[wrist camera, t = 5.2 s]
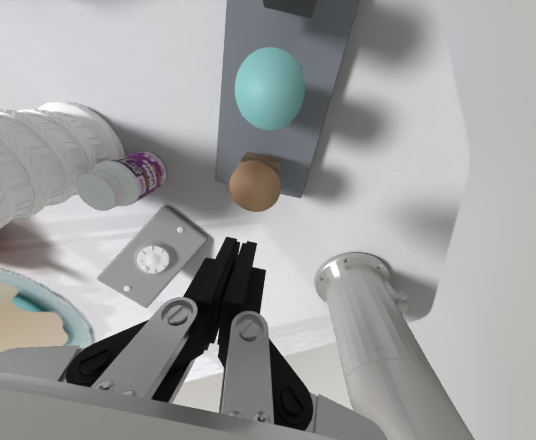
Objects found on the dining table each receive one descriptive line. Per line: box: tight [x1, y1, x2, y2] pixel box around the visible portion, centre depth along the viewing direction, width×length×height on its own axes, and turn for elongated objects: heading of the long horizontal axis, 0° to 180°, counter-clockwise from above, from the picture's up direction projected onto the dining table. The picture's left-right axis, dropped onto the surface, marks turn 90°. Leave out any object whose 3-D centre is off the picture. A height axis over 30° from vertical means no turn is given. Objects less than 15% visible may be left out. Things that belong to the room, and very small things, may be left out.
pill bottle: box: [76, 151, 166, 211], centre depth 25 cm, size 5×5×10 cm
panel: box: [215, 0, 359, 198], centre depth 21 cm, size 12×22×6 cm, turn 169°
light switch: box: [97, 206, 207, 308], centre depth 34 cm, size 8×6×14 cm
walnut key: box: [229, 152, 281, 212], centre depth 22 cm, size 5×5×6 cm
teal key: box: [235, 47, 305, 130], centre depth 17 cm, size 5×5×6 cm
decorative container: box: [0, 102, 125, 228], centre depth 21 cm, size 12×12×18 cm
